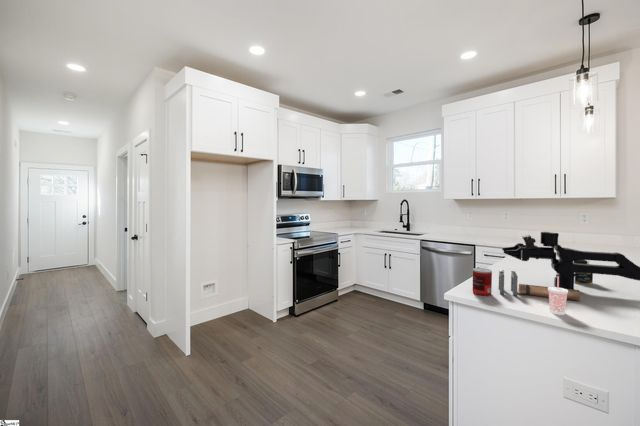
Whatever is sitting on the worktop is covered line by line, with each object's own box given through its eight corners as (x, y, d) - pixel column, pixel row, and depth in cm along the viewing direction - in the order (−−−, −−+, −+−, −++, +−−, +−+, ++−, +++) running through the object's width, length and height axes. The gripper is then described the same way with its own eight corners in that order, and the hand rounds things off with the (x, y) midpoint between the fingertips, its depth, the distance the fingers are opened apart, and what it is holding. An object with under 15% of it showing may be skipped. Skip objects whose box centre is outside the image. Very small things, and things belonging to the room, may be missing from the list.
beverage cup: (543, 309, 116) (544, 274, 115) (559, 309, 116) (560, 274, 115) (554, 315, 110) (556, 278, 109) (571, 315, 110) (573, 278, 109)
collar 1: (502, 288, 142) (503, 268, 142) (504, 294, 134) (505, 272, 133) (497, 288, 143) (498, 267, 143) (499, 294, 135) (499, 272, 134)
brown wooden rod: (576, 299, 127) (577, 288, 127) (580, 302, 123) (580, 291, 123) (518, 292, 137) (518, 282, 137) (519, 295, 133) (520, 285, 133)
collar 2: (514, 290, 140) (515, 271, 140) (517, 296, 131) (517, 276, 131) (510, 289, 141) (511, 271, 141) (513, 295, 132) (513, 276, 132)
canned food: (489, 291, 139) (489, 268, 138) (493, 297, 131) (493, 272, 131) (471, 290, 141) (471, 267, 141) (473, 295, 134) (474, 271, 133)
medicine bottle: (574, 283, 150) (575, 260, 150) (569, 279, 157) (569, 257, 156) (592, 284, 148) (593, 261, 147) (586, 281, 154) (587, 258, 154)
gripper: (537, 234, 153) (501, 232, 161) (544, 238, 137) (504, 237, 144) (536, 255, 154) (501, 253, 161) (543, 262, 137) (504, 259, 145)
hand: (502, 250), depth 153 cm, fingers open, 9 cm apart
